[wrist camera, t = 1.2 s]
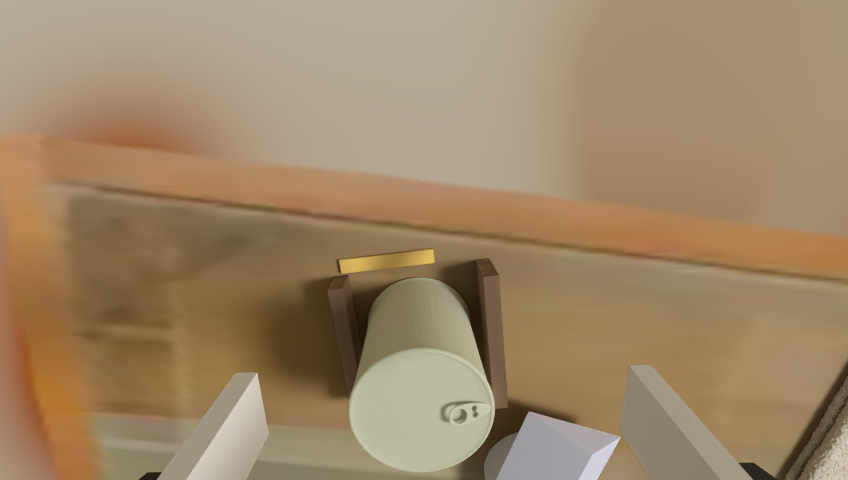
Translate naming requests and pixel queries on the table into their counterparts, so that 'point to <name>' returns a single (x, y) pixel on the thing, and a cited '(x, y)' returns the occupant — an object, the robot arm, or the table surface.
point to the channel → (341, 285)
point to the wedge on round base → (550, 452)
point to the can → (420, 380)
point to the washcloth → (826, 445)
